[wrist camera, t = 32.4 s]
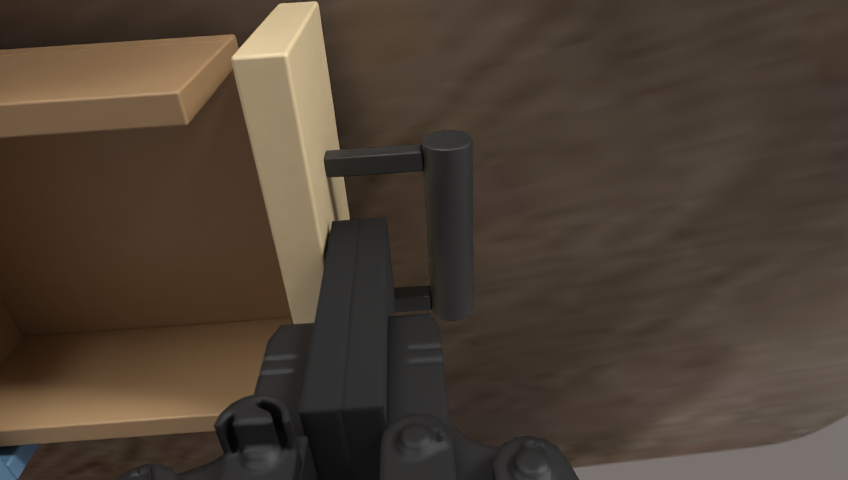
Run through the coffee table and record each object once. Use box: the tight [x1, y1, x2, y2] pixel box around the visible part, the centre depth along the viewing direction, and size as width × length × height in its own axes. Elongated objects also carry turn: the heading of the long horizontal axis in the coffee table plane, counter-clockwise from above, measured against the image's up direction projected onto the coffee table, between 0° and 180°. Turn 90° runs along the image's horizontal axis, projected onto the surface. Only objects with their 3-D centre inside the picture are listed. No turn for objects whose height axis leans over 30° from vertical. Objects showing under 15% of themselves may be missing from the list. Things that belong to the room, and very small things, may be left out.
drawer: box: [0, 1, 474, 447], centre depth 17 cm, size 18×12×6 cm
